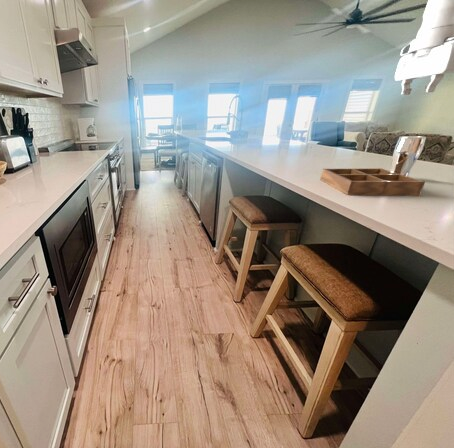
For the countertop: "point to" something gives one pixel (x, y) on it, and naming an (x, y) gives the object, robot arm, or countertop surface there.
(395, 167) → the beer glass
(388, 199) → the countertop surface
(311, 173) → the countertop surface
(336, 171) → the wooden compartment tray
